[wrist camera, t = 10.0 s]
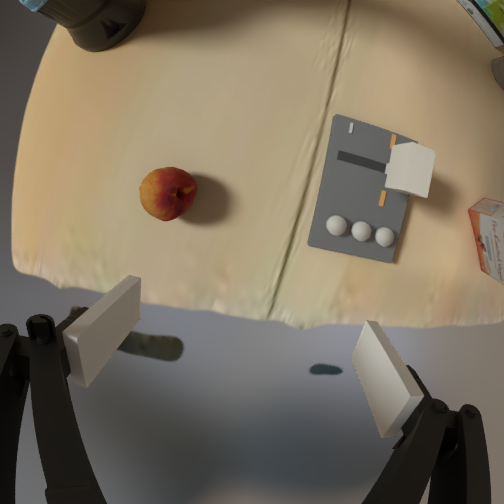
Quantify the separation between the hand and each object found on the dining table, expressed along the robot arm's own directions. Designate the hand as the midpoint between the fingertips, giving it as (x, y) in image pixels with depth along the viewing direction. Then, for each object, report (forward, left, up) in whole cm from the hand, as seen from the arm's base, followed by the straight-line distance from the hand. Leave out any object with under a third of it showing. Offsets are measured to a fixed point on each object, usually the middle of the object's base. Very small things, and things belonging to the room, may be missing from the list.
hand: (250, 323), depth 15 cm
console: (-9, +15, -29) cm, 33 cm away
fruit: (-3, -14, -29) cm, 32 cm away
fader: (-13, +17, -26) cm, 34 cm away
